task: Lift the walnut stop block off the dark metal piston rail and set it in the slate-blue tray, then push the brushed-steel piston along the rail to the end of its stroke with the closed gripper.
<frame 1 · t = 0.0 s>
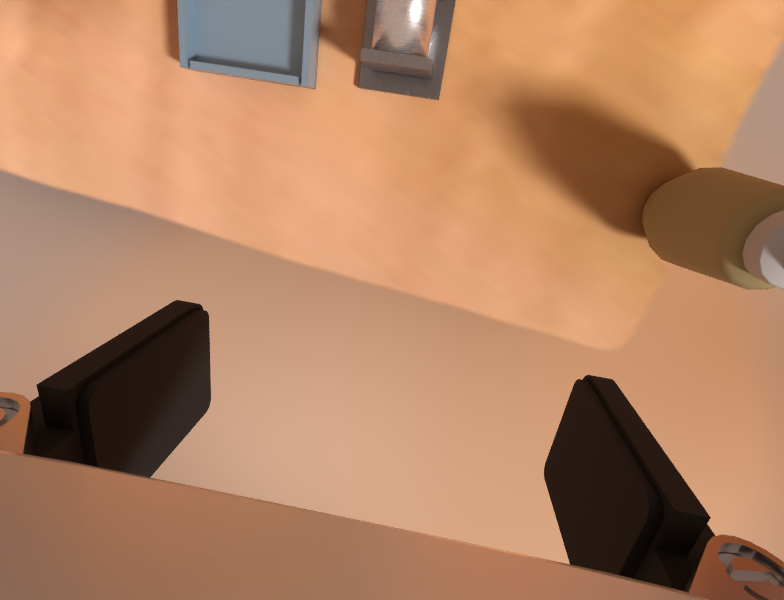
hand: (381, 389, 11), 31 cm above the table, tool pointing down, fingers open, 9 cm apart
tray: (255, 5, 35), on the table
piston: (406, 3, 31), point 3 cm above the table, slide at 0.0 cm
squeeze bottle: (674, 211, 37), on the table
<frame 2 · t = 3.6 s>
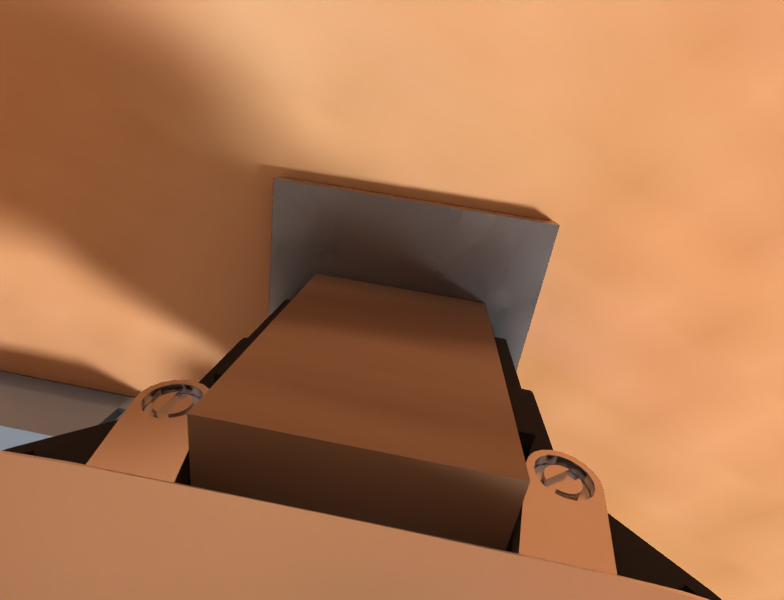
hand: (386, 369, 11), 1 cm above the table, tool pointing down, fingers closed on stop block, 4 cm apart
tray: (29, 493, 16), on the table
stop block: (388, 362, 12), point 1 cm above the table, touching gripper, piston rail
piston rail: (370, 476, 14), on the table
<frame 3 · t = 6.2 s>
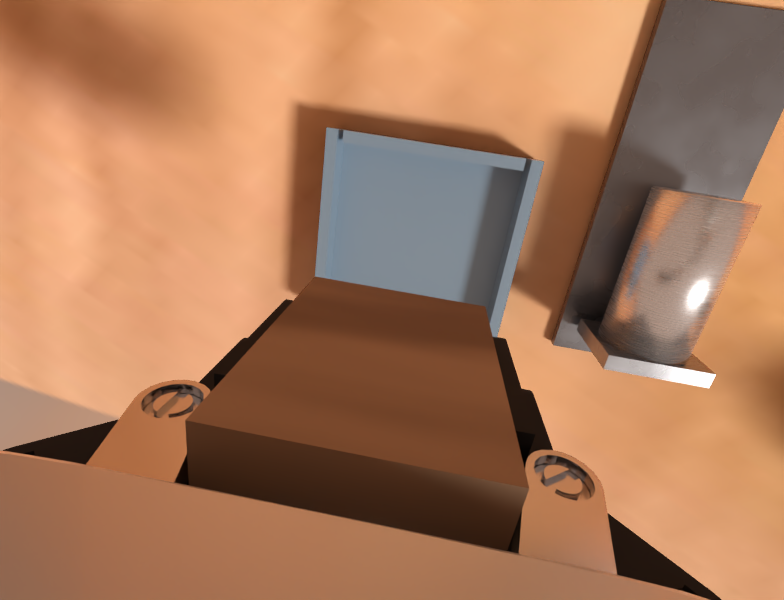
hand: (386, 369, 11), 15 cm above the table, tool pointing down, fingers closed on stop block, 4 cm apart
tray: (418, 240, 25), on the table
stop block: (387, 365, 12), point 15 cm above the table, touching gripper
piston rail: (662, 205, 23), on the table
piston: (667, 281, 21), point 3 cm above the table, slide at 0.0 cm
when the fingers open (3 cm above the table, at t = 8.7 s): stop block drops 2 cm, resting on tray.
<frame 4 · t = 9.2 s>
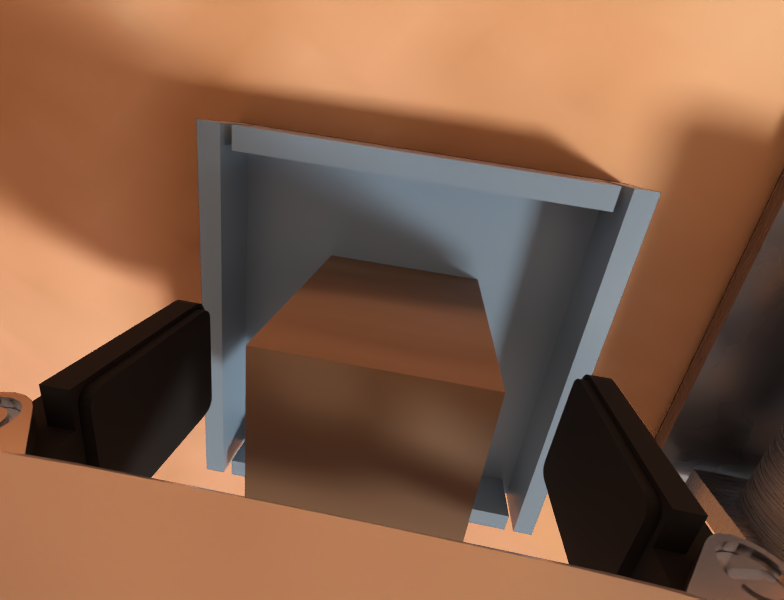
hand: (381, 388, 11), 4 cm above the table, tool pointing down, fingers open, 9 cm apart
tray: (396, 326, 14), on the table
stop block: (393, 333, 13), point 1 cm above the table, touching tray
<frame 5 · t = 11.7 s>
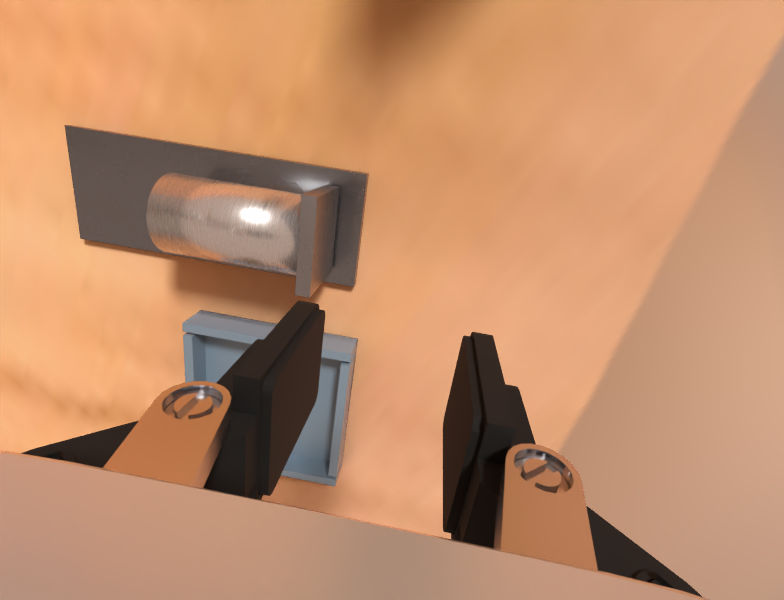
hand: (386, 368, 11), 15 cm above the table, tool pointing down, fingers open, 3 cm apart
tray: (275, 391, 31), on the table
piston rail: (218, 207, 26), on the table
piston: (248, 226, 23), point 3 cm above the table, slide at 0.0 cm
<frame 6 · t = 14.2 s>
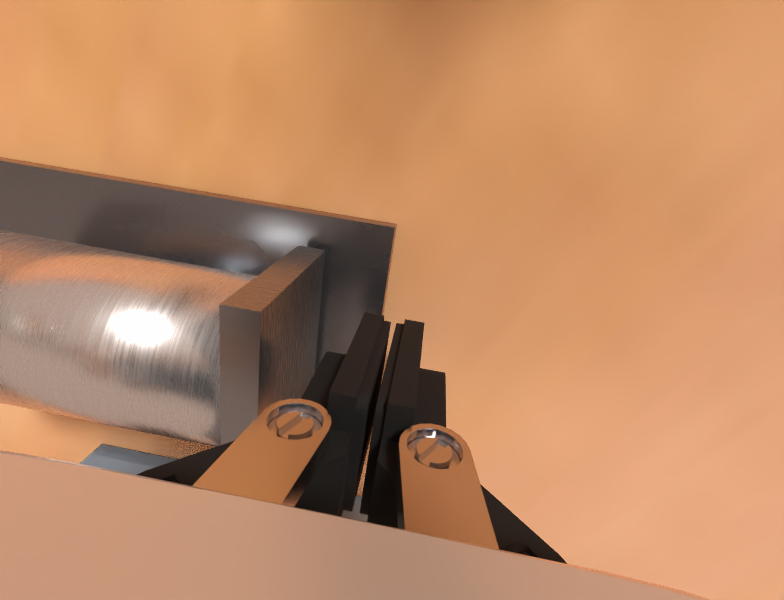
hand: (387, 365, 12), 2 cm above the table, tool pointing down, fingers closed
tray: (233, 565, 19), on the table
piston rail: (114, 280, 14), on the table
piston: (133, 337, 11), point 3 cm above the table, slide at 0.4 cm, touching gripper
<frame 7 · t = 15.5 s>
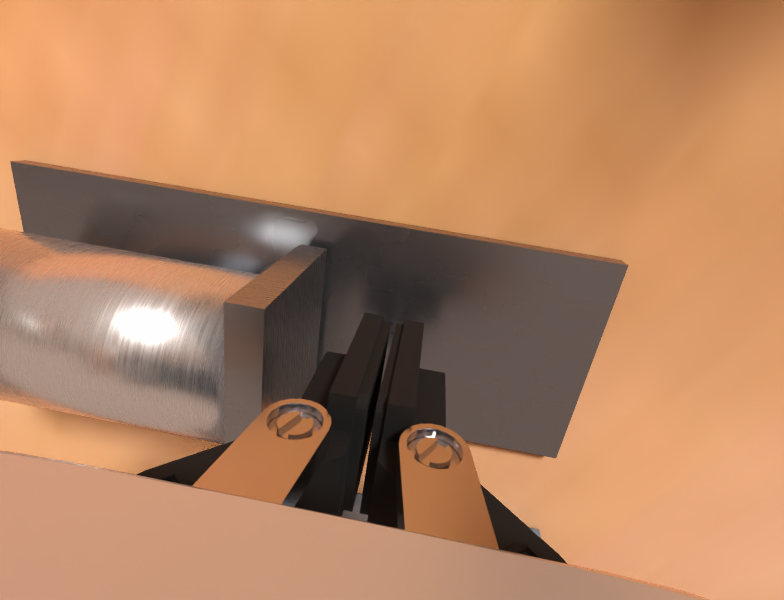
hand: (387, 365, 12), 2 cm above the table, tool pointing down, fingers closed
tray: (378, 593, 19), on the table
piston rail: (305, 313, 14), on the table
piston: (136, 335, 11), point 3 cm above the table, slide at 7.1 cm, touching gripper
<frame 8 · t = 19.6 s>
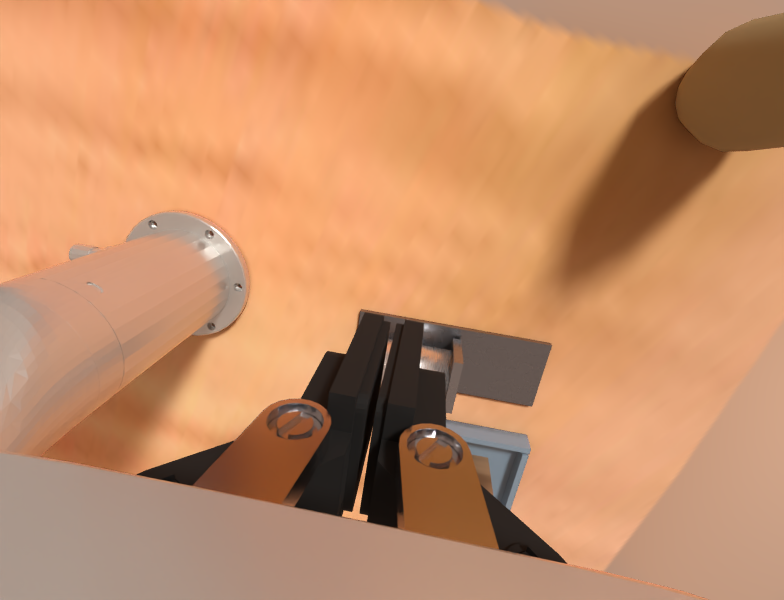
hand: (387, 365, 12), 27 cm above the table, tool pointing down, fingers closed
tray: (463, 465, 46), on the table
stop block: (463, 469, 46), point 1 cm above the table, touching tray
piston rail: (447, 357, 42), on the table
piston: (409, 366, 39), point 3 cm above the table, slide at 7.0 cm
squeeze bottle: (714, 94, 31), on the table
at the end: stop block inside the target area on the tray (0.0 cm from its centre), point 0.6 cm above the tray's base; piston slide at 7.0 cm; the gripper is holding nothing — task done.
